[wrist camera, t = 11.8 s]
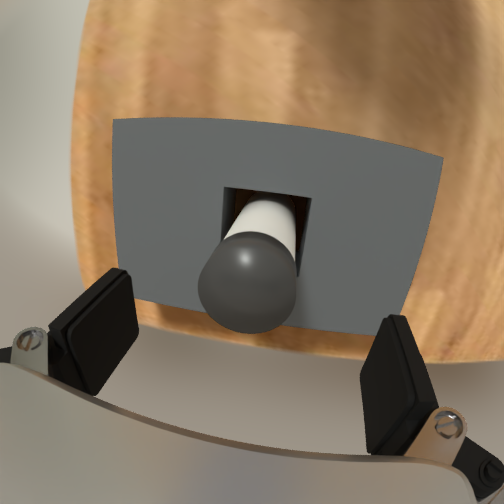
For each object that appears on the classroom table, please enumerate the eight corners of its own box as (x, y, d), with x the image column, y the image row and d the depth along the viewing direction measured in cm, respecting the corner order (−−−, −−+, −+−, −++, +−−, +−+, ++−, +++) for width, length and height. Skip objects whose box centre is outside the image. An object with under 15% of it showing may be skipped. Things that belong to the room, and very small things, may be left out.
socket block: (418, 150, 20) (443, 157, 15) (379, 305, 25) (390, 336, 21) (142, 118, 22) (113, 119, 17) (144, 271, 27) (122, 295, 23)
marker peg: (308, 209, 23) (317, 289, 12) (275, 248, 25) (257, 347, 14) (264, 176, 22) (231, 227, 11) (233, 218, 24) (181, 298, 13)
